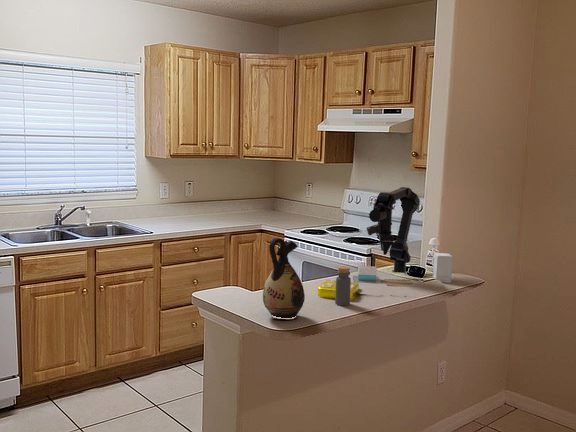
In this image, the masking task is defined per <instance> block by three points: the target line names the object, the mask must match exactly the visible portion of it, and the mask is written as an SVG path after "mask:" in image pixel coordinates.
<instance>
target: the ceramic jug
mask: <svg viewBox="0 0 576 432" xmlns="http://www.w3.org/2000/svg"><path fill="white" fill-rule="evenodd" d="M278 244H279V247H278V249H277V252H276V245H278ZM297 248H298V245H297V244H296V242H294V241H293V240H289V241H288V240H284V239H283V238H281V237H274V238H272V239H271V240H270V242H269V246H268V249H269V254H270V258H271V263H272V264H273V267H272V268H273V269H272V270H271V272H270V274H269V275H268V277H267V279H266V281H265V283H264V286H263V291H262V302H263V305H264V308H265V309H267V311H268V312H269V314H270V315H273V316H276V317H281V318H292V317H295V316H296V317H297V315H298V314H299V312H300V311H301V310H302V307H304V306H303V305H304V303H305V296H306V295H305V290H304V286H303V283H302V280H301V278H300V276H299V275H298V274H297V272H296V270H295V269H294V267H293V266H292V264H291V263H290V262H289V257H288V255H289V254H290V253H291V252H293V251H294V250H295V249H297ZM277 256H278V257H277Z"/></svg>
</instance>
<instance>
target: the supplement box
mask: <svg viewBox="0 0 576 432" xmlns="http://www.w3.org/2000/svg"><path fill="white" fill-rule="evenodd" d="M453 258H454V257H453V255H451V254H450V253H449V252H448V253H446V252H445V253H443V252H440V253H439V252H435V253H433V260H432V261H433V263H432V277H433V278H434V279H435V280H439V281H440V282H441V283H447V284H448V283H451V282H452V274H453Z"/></svg>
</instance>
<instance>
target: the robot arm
mask: <svg viewBox="0 0 576 432" xmlns="http://www.w3.org/2000/svg"><path fill="white" fill-rule="evenodd" d="M398 200H399V201H400V202H401V203H400V207H401V209H402V215H401V220H400V223H399V226H398V227H399V228H398V232H397V236H396V240H394V239H395V236H394V235H393V234H392V225H393V222H392V221H393V220H392V218H393V217H392V216H393V210H394V209H395V208H394V204H396V201H398ZM420 203H421V200H420V198H419V196H418V194H417V193H415V192H414V191H413V190H412V189H411V188H410V187H404V186H402V187H399V188H397V189H395V190H393V191H390V192H389V191H386V192H385V191H380V193H378V195H377V196H376V200H375V202H374V204H373V208H372V209H371V211H370V212H369V214H368V217H369V219H370V221H371V222H373V223H376V224H373V225H370V226H367V227H366V232H367V235H368V236H372V235H374V234H375V235H376V237H377V238H378V239H379V243H380V244H379V245H380V251H383V252H382V253H383V256H386V255H387V254H388V253H389V258H390V259H389V260H390V261H393V262H394V263H393V269H392V270H391V271H392V273H400V274H401V273H402V274H404V273H405V274H407V271H406V270H407V269H406V267H407V263H410V262H411V255H410V253H409V246H408V243H407V242H408V236H409V232H410V229H411V223H412V219H413V214H414V213H416V212H417V210H418V208H419V206H420Z"/></svg>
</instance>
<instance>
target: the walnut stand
mask: <svg viewBox="0 0 576 432" xmlns="http://www.w3.org/2000/svg"><path fill="white" fill-rule="evenodd" d="M383 280H384V282H385V285H386V286H387V287H406V288H408V287H409V288H410V287H411V288H415V285H414V284H413V282H412V280H410V279H397V278H396V279H394V278H393V279H391V278H384V279H383Z"/></svg>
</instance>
